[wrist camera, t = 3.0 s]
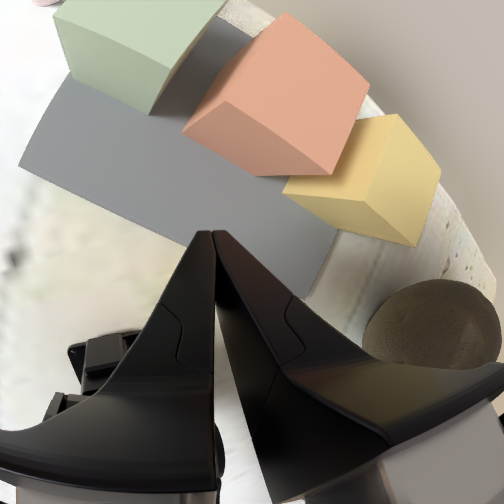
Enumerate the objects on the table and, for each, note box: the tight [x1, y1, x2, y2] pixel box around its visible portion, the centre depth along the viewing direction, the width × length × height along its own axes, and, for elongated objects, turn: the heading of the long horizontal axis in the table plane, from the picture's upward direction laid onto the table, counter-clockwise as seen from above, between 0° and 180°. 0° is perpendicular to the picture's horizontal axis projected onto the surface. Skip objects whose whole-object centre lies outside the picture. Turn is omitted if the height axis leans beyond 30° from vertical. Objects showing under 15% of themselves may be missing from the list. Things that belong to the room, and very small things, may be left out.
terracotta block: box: [181, 12, 370, 176], centre depth 16 cm, size 6×6×8 cm
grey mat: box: [18, 16, 338, 300], centre depth 21 cm, size 16×24×1 cm, turn 61°
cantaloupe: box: [362, 279, 502, 370], centre depth 26 cm, size 14×14×15 cm
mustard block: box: [282, 114, 441, 248], centre depth 20 cm, size 6×6×8 cm
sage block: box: [53, 0, 229, 115], centre depth 12 cm, size 6×6×8 cm
